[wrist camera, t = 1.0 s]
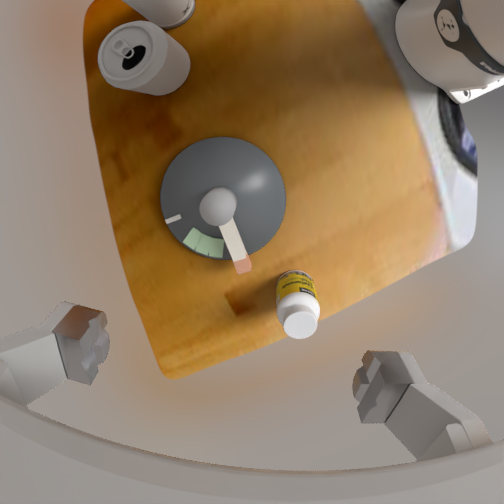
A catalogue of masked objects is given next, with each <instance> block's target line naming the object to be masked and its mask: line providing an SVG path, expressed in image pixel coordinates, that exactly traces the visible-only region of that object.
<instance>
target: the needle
mask: <svg viewBox="0 0 504 504" xmlns="http://www.w3.org/2000/svg"><path fill="white" fill-rule="evenodd" d="M236 207H237V197H236V195H235V193H234V192H233V191H232V190H231V189H230V188H228V187H225V186H216V187H214V188H212V189H211V190H210V191H209V192H208V193H207V194H206V195H205V197H204V198H203V199H202V201H201V203H200V208H199V209H200V214H201V216H202V218H203V219H204V221H205V222H207V223H208V224H210V225H213V226H219V228H220V231H221V233H222V235H223V238H224V240H225V243H226V245H227V247H228V250H229V252H230V255H231V257H232V259H233V263H234V266H235V268H236V270H237V273H238V275H239V274H242V273H246V272H249V271H251V267H252V263H251V261H250V258H249V256H248V253H247V252H246V250H245V247H244V245H243V242H242V239H241V237H240V234H239V232H238V229H237V227H236V224H235V222H234V219H233V215H234V212H235V209H236Z"/></svg>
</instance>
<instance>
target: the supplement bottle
mask: <svg viewBox="0 0 504 504" xmlns="http://www.w3.org/2000/svg"><path fill="white" fill-rule="evenodd" d="M276 304H277V317H278V319H279V321H280V323H281V324H282V325H283V328H284V331H285V333H286V334H287V335H288V336H290V337H292V338H295V339H303V338H307V337H309V336H310V335H312V334H313V333H314V332H315V330H316V328H317V319H318V317H319V314H320V307H319V302H318V298H317V294H316V290H315V286H314V283H313V280H312V278H311V277H310V276H309V275H308V274H307V273H305V272H303V271H299V270H292V271H288V272H286V273H284V274H283V275H282V276H281V277H280V278H279V280H278V282H277V285H276Z"/></svg>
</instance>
